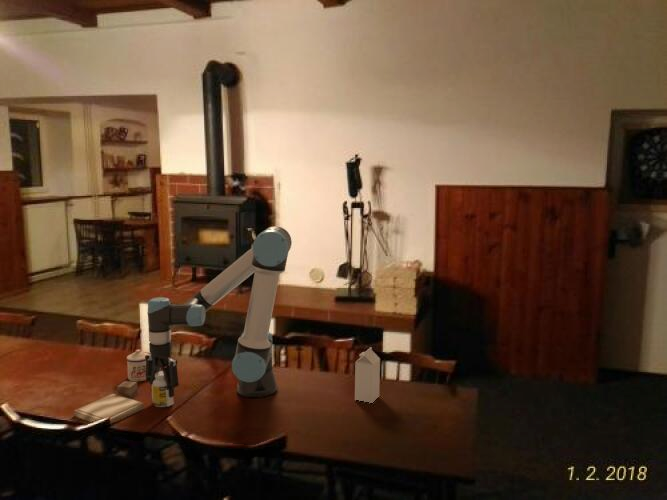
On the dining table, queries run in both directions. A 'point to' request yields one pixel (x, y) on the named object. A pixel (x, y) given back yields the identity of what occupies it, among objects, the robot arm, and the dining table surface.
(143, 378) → the teacup with lid
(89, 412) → the beech board
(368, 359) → the milk carton
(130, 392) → the walnut cube
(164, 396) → the pill bottle
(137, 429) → the dining table surface
